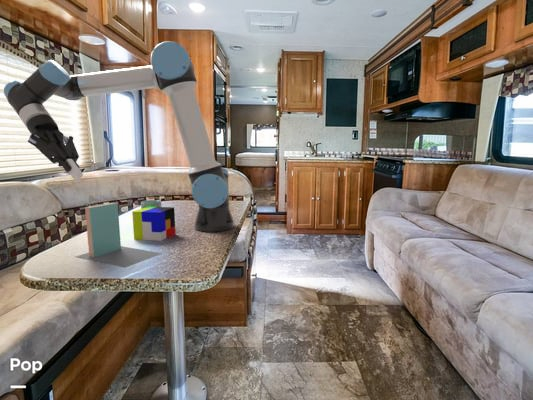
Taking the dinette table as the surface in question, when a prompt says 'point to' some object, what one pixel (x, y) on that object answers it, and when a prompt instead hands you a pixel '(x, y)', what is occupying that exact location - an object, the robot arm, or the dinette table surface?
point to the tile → (103, 229)
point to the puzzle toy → (154, 223)
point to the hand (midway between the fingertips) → (79, 177)
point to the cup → (151, 203)
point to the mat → (122, 256)
